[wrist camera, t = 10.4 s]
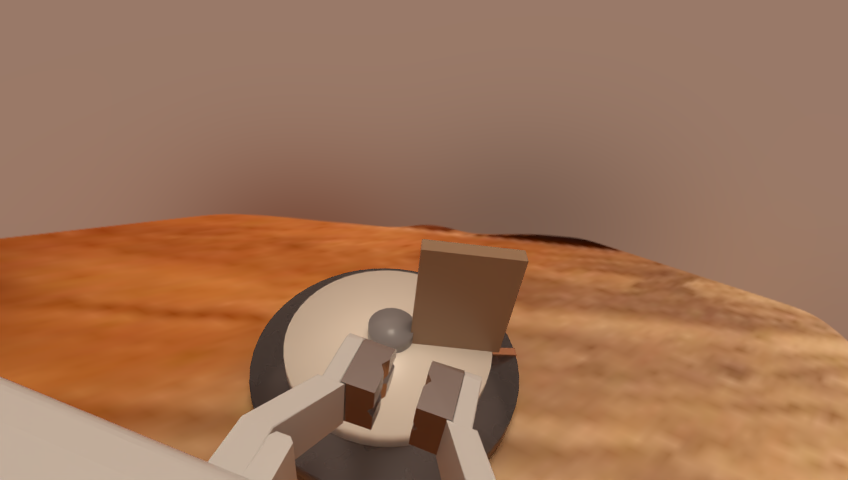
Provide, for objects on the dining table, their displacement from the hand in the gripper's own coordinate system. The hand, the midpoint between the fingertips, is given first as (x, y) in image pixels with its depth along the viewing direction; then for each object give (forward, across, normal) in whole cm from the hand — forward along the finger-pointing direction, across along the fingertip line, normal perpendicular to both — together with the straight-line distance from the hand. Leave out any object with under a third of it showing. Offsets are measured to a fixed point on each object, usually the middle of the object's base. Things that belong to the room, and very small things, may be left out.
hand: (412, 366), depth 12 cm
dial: (+13, +4, +16) cm, 21 cm away
